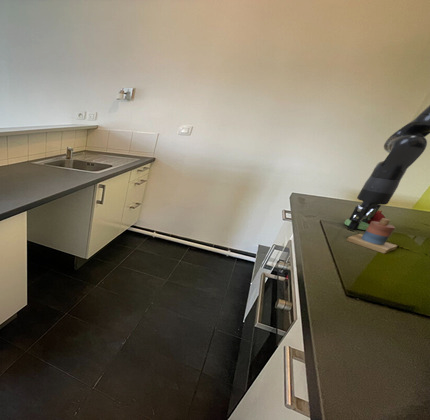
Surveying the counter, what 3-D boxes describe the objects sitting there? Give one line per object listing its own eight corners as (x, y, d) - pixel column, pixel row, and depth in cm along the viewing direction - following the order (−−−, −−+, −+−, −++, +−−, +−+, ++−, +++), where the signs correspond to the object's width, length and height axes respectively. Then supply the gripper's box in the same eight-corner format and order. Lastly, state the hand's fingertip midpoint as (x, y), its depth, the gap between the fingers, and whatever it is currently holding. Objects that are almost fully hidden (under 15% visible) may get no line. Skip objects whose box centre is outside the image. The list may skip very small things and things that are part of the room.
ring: (348, 221, 101) (350, 218, 100) (372, 228, 95) (374, 225, 94) (341, 223, 98) (343, 220, 97) (365, 231, 93) (367, 227, 92)
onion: (366, 230, 98) (377, 211, 95) (353, 224, 103) (363, 206, 100) (384, 232, 96) (395, 213, 93) (370, 226, 102) (381, 208, 99)
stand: (357, 237, 91) (372, 212, 87) (395, 249, 83) (413, 223, 80) (346, 240, 88) (360, 215, 84) (384, 253, 80) (402, 226, 76)
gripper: (385, 194, 85) (360, 236, 91) (401, 191, 90) (376, 231, 97) (354, 188, 91) (333, 227, 98) (371, 185, 97) (350, 223, 103)
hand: (354, 229), depth 97 cm, fingers closed on ring, 6 cm apart
